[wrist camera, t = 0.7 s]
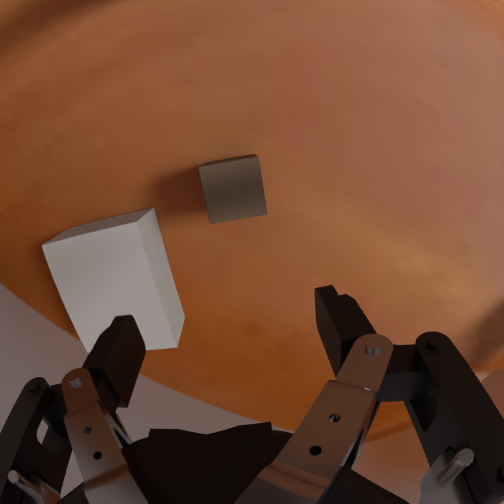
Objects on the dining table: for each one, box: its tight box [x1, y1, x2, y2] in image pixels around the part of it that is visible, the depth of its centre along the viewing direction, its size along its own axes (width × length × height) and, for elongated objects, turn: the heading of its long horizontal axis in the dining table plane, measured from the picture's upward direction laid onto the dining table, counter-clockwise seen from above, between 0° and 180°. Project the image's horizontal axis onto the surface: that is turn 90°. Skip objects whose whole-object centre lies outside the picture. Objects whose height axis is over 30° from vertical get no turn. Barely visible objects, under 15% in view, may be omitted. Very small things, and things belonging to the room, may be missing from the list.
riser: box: [42, 207, 185, 353], centre depth 30 cm, size 14×12×6 cm
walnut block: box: [199, 154, 267, 224], centre depth 27 cm, size 5×5×6 cm
